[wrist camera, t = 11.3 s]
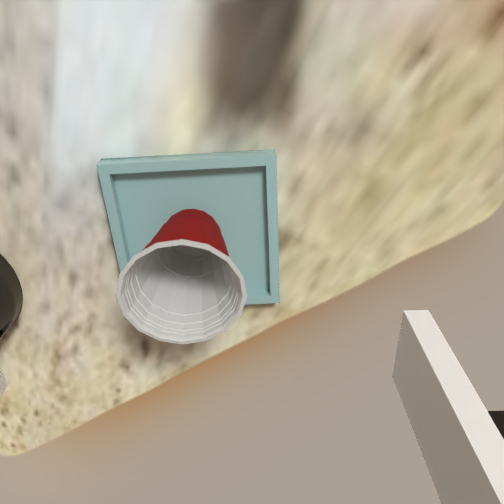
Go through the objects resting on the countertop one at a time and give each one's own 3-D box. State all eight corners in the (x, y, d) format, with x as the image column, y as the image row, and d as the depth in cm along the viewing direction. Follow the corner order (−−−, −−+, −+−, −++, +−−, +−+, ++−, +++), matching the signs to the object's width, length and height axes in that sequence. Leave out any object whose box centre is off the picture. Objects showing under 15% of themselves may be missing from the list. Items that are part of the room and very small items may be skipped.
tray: (131, 301, 53) (128, 310, 52) (101, 159, 45) (96, 164, 44) (278, 293, 53) (279, 302, 52) (274, 149, 45) (276, 154, 43)
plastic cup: (193, 294, 52) (182, 369, 42) (121, 230, 48) (87, 295, 38) (266, 238, 49) (273, 303, 39) (195, 164, 45) (181, 214, 34)
